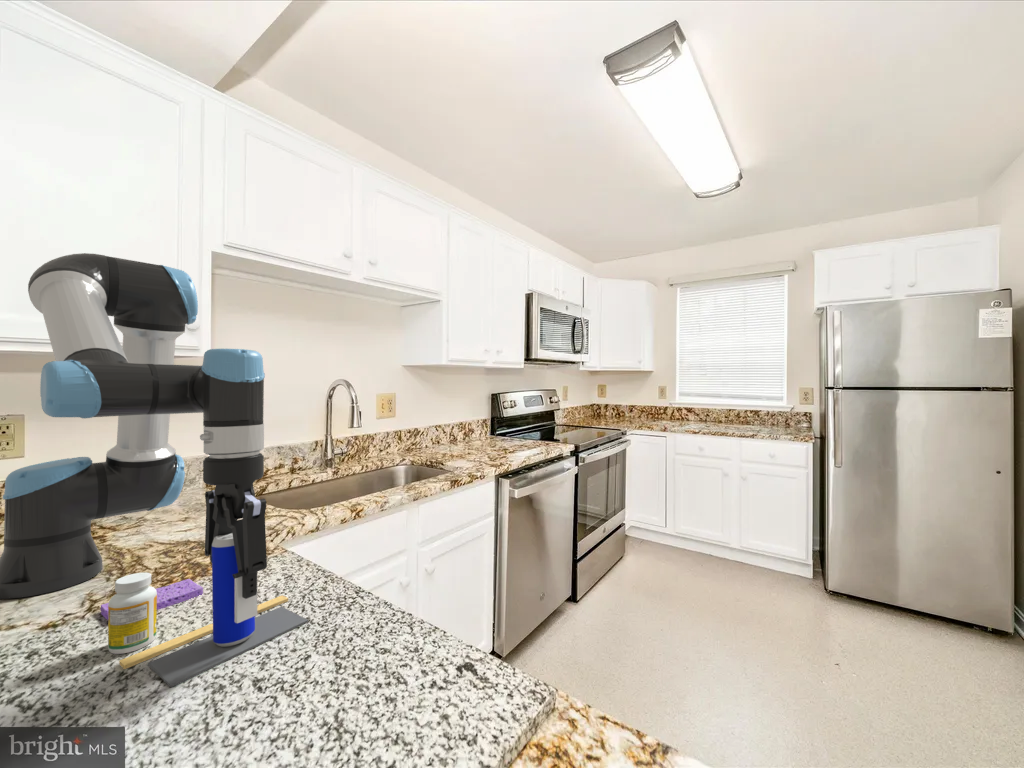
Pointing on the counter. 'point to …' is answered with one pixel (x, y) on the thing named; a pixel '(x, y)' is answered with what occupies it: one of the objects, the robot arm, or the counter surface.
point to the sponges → (170, 594)
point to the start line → (187, 637)
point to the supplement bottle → (132, 614)
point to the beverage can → (226, 595)
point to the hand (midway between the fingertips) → (234, 611)
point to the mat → (222, 648)
